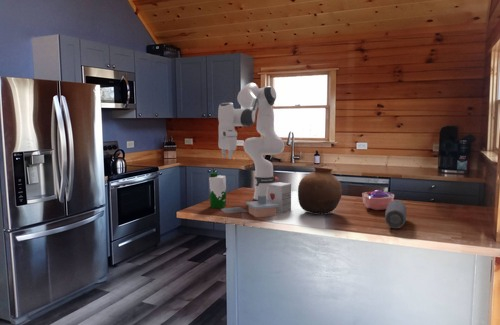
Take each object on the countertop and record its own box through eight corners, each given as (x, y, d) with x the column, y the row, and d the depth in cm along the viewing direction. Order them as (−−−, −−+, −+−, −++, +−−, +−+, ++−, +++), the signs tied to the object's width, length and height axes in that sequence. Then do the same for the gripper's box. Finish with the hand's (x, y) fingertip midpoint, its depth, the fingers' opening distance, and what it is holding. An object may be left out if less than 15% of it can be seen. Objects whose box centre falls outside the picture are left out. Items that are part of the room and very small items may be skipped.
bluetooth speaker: (386, 217, 192) (386, 198, 191) (406, 219, 189) (407, 199, 188) (383, 230, 172) (384, 208, 170) (405, 232, 168) (406, 209, 167)
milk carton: (213, 205, 226) (212, 171, 224) (227, 205, 224) (227, 172, 222) (208, 208, 218) (207, 174, 215) (223, 209, 216) (223, 174, 214)
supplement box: (268, 210, 211) (268, 183, 209) (278, 207, 218) (278, 181, 216) (281, 213, 205) (281, 185, 203) (291, 210, 211) (291, 183, 210)
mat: (239, 207, 219) (239, 206, 219) (247, 212, 208) (247, 211, 208) (219, 209, 215) (219, 208, 215) (226, 214, 204) (226, 213, 204)
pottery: (293, 216, 197) (293, 168, 194) (303, 207, 218) (303, 163, 215) (338, 220, 188) (338, 170, 185) (344, 210, 210) (345, 164, 207)
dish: (267, 211, 209) (267, 202, 208) (276, 216, 199) (276, 206, 198) (248, 213, 205) (248, 204, 204) (256, 218, 195) (256, 208, 194)
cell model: (395, 206, 216) (396, 186, 215) (392, 214, 198) (393, 193, 197) (364, 204, 223) (364, 185, 222) (359, 211, 205) (359, 191, 204)
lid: (246, 204, 205) (246, 194, 204) (268, 201, 210) (268, 192, 209) (255, 209, 193) (255, 199, 192) (278, 206, 198) (278, 196, 197)
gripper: (215, 132, 217) (216, 156, 219) (227, 133, 198) (227, 159, 200) (225, 131, 219) (226, 155, 221) (238, 133, 201) (239, 159, 202)
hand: (227, 157), depth 210 cm, fingers open, 8 cm apart
